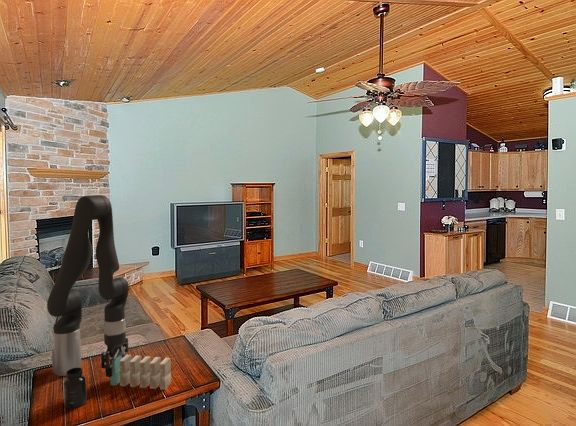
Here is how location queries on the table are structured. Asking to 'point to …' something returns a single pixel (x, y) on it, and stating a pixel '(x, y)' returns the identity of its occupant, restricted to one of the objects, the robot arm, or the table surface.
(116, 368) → the domino
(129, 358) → the domino
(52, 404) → the table surface
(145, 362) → the domino
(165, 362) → the domino
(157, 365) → the domino
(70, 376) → the supplement bottle
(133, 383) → the domino
